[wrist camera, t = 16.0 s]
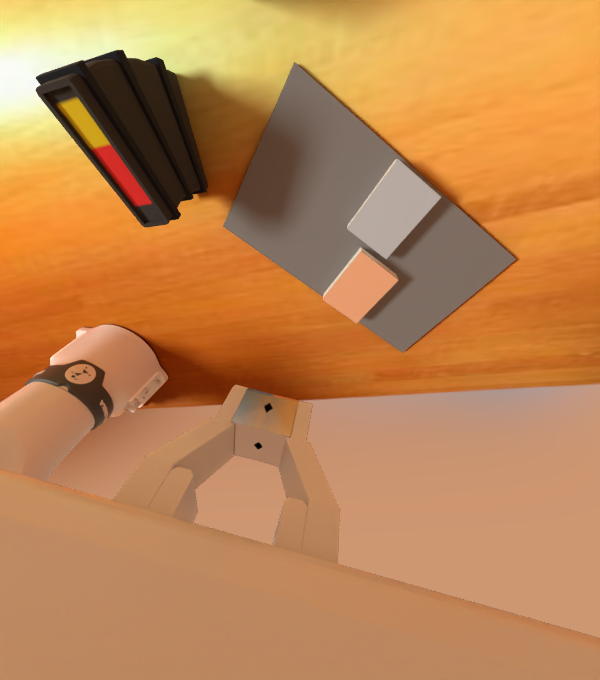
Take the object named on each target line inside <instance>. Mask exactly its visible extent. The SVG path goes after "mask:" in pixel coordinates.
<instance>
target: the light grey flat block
mask: <svg viewBox="0 0 600 680" xmlns="http://www.w3.org/2000/svg"><path fill="white" fill-rule="evenodd" d="M440 198H441V196H439V195H438V194H437V193H436V192H435V191H434V190H433V189H432V188H430V187H429V186H428V185H427V184H426V183H425V182H424V181H422V180H421V179H420V178H419V177H418V176H417V175H416V174H415V173H413V172H412V171H411V170H410V169H409V168H408V167H407V166H406V165H404V164H403V163H402V162H401V161H400V160H399V159H395V161H394V162H393V163H392V165H391V166H390V167H389V169H388V170H387V172H386V173H385V174H384V176H383V177H382V178H381V180H380V181H379V183H378V184H377V185H376V187H375V188H374V189H373V191H372V192H371V194H370V195H369V196H368V198H367V199H366V201H365V202H364V203H363V205H362V206H361V207H360V209H359V210H358V212H357V213H356V214H355V216H354V217H353V218H352V220H351V221H350V223H349V224H348V225H347V229H348V230H349V231H350V232H352V233H353V234H354V235H355V236H357V237H358V238H359V239H361V240H362V241H363V242H364V243H366V244H367V245H368V246H370V247H371V248H372V249H373V250H375V251H376V252H377V253H379V254H380V255H381V256H382V257H384V258H385V259H387V258H388V257H389V256H390V255H391V253H392V252H393V251H394V250H395V249H396V248H397V247H398V246H399V244H400V243H401V242H402V241H403V240H404V239H405V238H406V237H407V235H408V234H409V233H410V232H411V231H412V230H413V229H414V228H415V226H416V225H417V224H418V223H419V222H420V221H421V220H422V219H423V217H424V216H425V215H426V214H427V213H428V212H429V211H430V209H431V208H432V207H433V206H434V205H435V204H436V203H437V202H438V200H439V199H440Z"/></svg>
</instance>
